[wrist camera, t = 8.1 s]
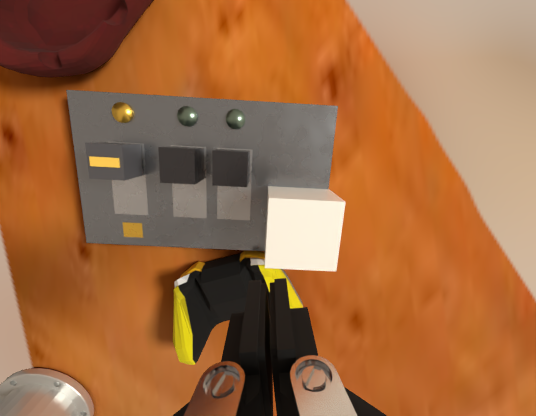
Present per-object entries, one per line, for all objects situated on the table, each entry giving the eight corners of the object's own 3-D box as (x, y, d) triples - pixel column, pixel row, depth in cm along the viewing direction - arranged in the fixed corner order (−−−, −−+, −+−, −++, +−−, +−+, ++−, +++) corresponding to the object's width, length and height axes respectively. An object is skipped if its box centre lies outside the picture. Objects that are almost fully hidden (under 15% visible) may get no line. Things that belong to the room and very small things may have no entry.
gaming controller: (304, 308, 32) (284, 236, 30) (312, 342, 27) (288, 257, 24) (190, 336, 33) (162, 268, 31) (176, 374, 28) (140, 295, 25)
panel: (98, 236, 29) (61, 257, 24) (81, 93, 25) (32, 81, 20) (317, 246, 30) (328, 269, 24) (332, 108, 26) (349, 100, 21)
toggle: (112, 173, 25) (88, 178, 22) (109, 142, 25) (83, 142, 21) (143, 175, 25) (123, 180, 22) (140, 144, 25) (120, 144, 21)
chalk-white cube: (264, 243, 28) (264, 268, 22) (268, 186, 26) (268, 197, 21) (322, 246, 28) (336, 271, 22) (329, 189, 26) (345, 201, 21)
